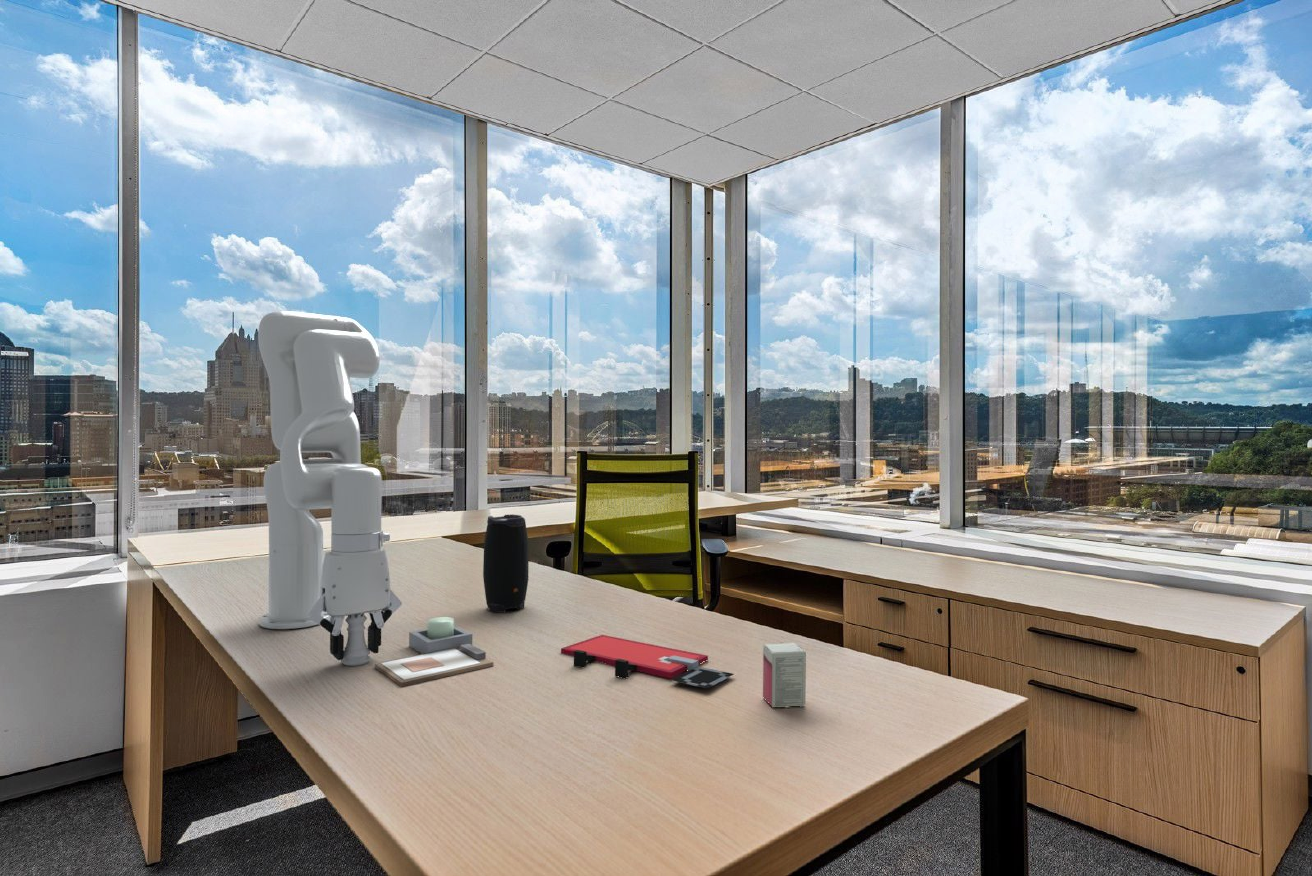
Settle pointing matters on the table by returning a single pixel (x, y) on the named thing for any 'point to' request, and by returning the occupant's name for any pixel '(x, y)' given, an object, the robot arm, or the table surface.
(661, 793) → the table surface
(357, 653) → the rook chess piece
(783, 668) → the small box
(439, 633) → the button
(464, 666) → the clipboard
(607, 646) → the red board with handle
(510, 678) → the table surface
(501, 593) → the portable speaker
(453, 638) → the button housing
